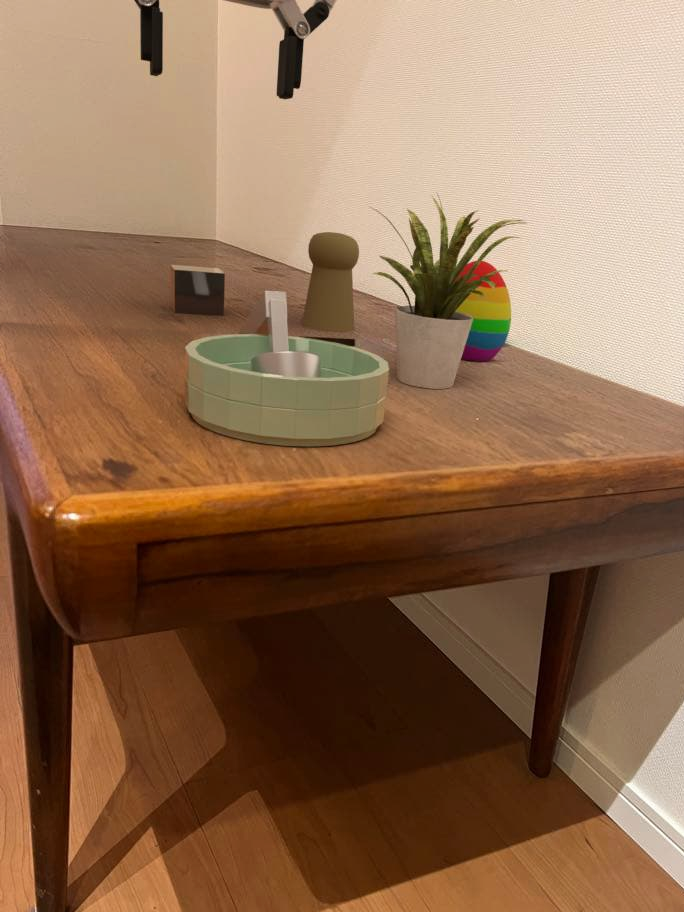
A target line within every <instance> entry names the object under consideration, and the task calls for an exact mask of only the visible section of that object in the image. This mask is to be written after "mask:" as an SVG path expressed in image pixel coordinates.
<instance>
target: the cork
mask: <svg viewBox="0 0 684 912" xmlns="http://www.w3.org/2000/svg"><path fill="white" fill-rule="evenodd" d="M307 253H308V257H309V260H310V262H311V263H312V268H311V273H310V279H309V284H308V289H307V293H306V294H307V295H306V299H305V305H304V310H303V315H302V320H301V326H303V327H304V328H307V329H310V330H315V331H321V332H330V333H350V332H354V331H355V314H354V313H355V310H354V285H353V281H354V280H353V270H354V268H355V266H356V265H357V264H358V261H359V257H360V248H359V244H358V242H357V240H356V239H355V238H354V237H352V236H349V235H347V234H344V233H341V232H334V231H333V232H332V231H325V232H323V231H322V232H317V233H315V234H313V235H312V236H311V238H310V239H309V243H308V251H307ZM298 337H302V338H310V339H317V340H323V341H329V342H335V343H339V344H343V345H347V346H351V347H356V339H355V338H343V337H323V336H322V337H321V336H301V335H300V336H298Z"/></svg>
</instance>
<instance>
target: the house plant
mask: <svg viewBox="0 0 684 912" xmlns="http://www.w3.org/2000/svg"><path fill="white" fill-rule="evenodd" d="M436 195H437V197H438V200H439V203H440V204H439V203H438V201H437V199H435V197H434V196H433V194H431V198H432V199H433V202H434V204H435V206H436V209H437V211H438V214H439V221H440V222H439V223H440V224H439V226H440V244H439V259H438V260H436V261H435V263H434V254H433V247H432V243H431V238H430V234H429V232H428V231H429V230H428V229H427V228H426V226H425V225H424V223H423V222H422V221H421V220H420V218H419V216H418V215H417V214H416V213H415V212H414V211H411V210H410V209H408V208H406V210H407V213H408V215H409V218H408V222H409V228H410V233H411V237H412V241H413V243H414V246H415V248H414V251H413V253H411V251H410V248H409V247H408V245H407V243H406V242H405V239H404V238H403V236H402V235H401V234H400V233H399V231H398V230H397V228H396V227H395V226H394V224H393V223H392V222H391V220H389V219H388V217H386V215H384V214H383V213H382V212H381V211H379V210H377V209H375V208H373V207H371V206H368V204H367V205H366V206H367V207H368V208H371V209H372V210H373V211H376V212H377V213H378V214H380V215H381V216H382V217H383V218H385V219H386V220H387V222H388V223H389V224H390V225H391V226H392V227H393V229H394V230H395V232H396V234H398V236H399V237H400V239H401V240H402V242H403V244H404V245H405V247H406V249H407V250H408V253H409V255H410V257H411V261H412V262H411V264H410V265H409V267H410V269H411V270H410V269H409V268H408V267H406V265H404V264H402V263H400V262H399V261H397V260H394V259H393V258H391V257H388V256H384V255H383V256H382V255H379V258H380V259H381V260H384V261H385V262H387V263H388V264H389V266H391V268H392V269H394V270H395V271H396V272H397V273H398V274H400V275H401V276H402V277H403V278H404V280H405V281H406V283H407V285H408V286H409V288H410V290H411V291H412V292H413V295H414V305H412V304H411V300H410V297H409V295H408V293H407V290H405V288H404V286H403V285H402V284H401V283H400V282H399V281H398V280H397V279H396V278H395V277H394V276H392V275H391V274H388V273H386V272H381V271H378V272H373V273H371V274H370V276H372V275H376V276H377V275H378V276H380V277H381V276H382V277H384V278H386V279H389V280H390V281H392V282H393V283H394V284H395V285H397V287H399V289H400V290H401V291H402V292H403V294H404V296H405V297H406V300H407V303H408V305H398V306H396V307H394V325H395V326H394V327H395V346H396V347H395V351H396V370H397V371H396V373H397V375H396V376H397V381H399V382H400V383H403V384H404V385H408V386H412V387H416V388H425V389H432V390H445V389H450V388H453V386H454V384H455V380H456V377H457V373H458V370H459V367H460V364H461V360H462V359H461V357H462V354H463V351H464V347H465V344H466V341H467V338H468V334H469V331H470V328H471V325H472V321H473V317H472V316H470V315H467V314H464V313H461V312H457V311H456V309H457V308H458V307H459V306H460V305H461V304H462V303H463V302H464V301H465V299H466V298H467V297H468V296H469V295H470V294H471V293H474V294H478V295H480V296H482V297H484V295H483V293H482V292H480V291H475V289H476V288H477V287H478V286H479V285H481V284H482V283H483V282H487V283H488V284H489V285H490V287H492V288H493V291H494V287H495V283H494V282H492V281H490V279H489V278H490V277H491V276H493V275H495V274H496V273H498V272H499V273H502V272H507V270H503V269H501V270H497V271H494V272H491V273H489V274H487V275H485V276H477V275H474V274H472V273H473V271H474V270H475V269H476V267H477V266H478V265H479V263H480V262H481V261H484V259H485V258H486V257H487V256H488V255H489V253H490V252H492V250H493V249H495V248H496V247H497V246H499V245H500V244H501V243H503V242H505V241H507V240H510V239H522V237H520V236H504V237H501V238H499V239H497V240H496V241H494V242H493V243H491V244H490V245H489V246H488V247H487V248H486V249H485V250H484V251H483V252H482V253H481V255H479V257H478V258H477V260H475V261H476V263H475V264H474V265H473V267H472V268H471V269H470V270H469V272H468V273H467V274H465V275H463V276H462V277H460V278H459V279H458V280H457V278H458V276H459V275H460V273H461V272H462V270H463V269H464V268H465V266H466V265H467V264H468V263H470V261H471V259H472V258H473V257H474V256H475V254H476V253H477V252H478V251H479V250H480V249H481V248H482V247H483V245H484V244H485V243H486V242H487V240H488V239H489V238H490V237H491V236H492V235H493V234H494V233H495V232H496V231H498V230H499V229H501V228H504V227H506V226H509V225H515V224H516V225H517V224H519V225H521V224H526V220H524V219H505V220H500V221H499V222H495V223H493V224H491V225H489V226H488V227H487V228H485V229H484V230H482V232H481V233H479V234H478V235H477V236H476V237H475V239H473V241H472V242H471V244H470V245H469V246H468V248H467V250H466V251H465V252H464V254H463V255H462V256H461V258H460V260H458V259H459V256H460V253H461V250H462V249H463V247H464V245H465V244H466V241H467V238H468V236H469V235H470V234H471V233H472V232H473V230H474V227H475V226H474V225H475V224H476V223H478V221H479V220H480V219H481V218H480V217H479V218H477V219H476V220H474V221H472V222H471V220H472V218H473V216H474V215H475V213H477V212H478V210H475V211H472V212H470V213H468V214H467V216H466V215H465V216H462V217H460V218H459V220H457V223H456V226H455V228H454V230H453V233H452V236H451V238H450V241H449V230H448V228H449V227H448V224H447V218H446V216H445V214H444V212H443V206H442V201H441V198H440V196H439V194H438V193H436ZM473 277H480V278H481V279H480V280H473V281H470V282H468V283H466V282H467V281H468V280H469V279H471V278H473ZM456 280H457V281H456ZM455 281H456V282H455ZM465 283H466V284H465ZM468 289H469V290H468ZM467 290H468V291H467ZM484 299H485V297H484ZM485 300H486V299H485Z"/></svg>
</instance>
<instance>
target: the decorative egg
mask: <svg viewBox="0 0 684 912" xmlns="http://www.w3.org/2000/svg"><path fill="white" fill-rule="evenodd" d="M476 261H477V260H474V261H471V262H470V261H469V262H468V263H467V265H466V266H465V268H464V269H463V270H462V272H461V273H460V275H459V276H458V278H457V280H458V279H459V278H460V277H462V276H463V275H465V274H467V273H468V272H469V270H470V269H471V268H472V267H473V265H474V264H475V263H476ZM494 271H498V269H497V268H496V267H495V266H494V265H493V264H491V263H489V262H487V261H485V260H482V261H481V262H480V263H479V265H478V266H477V267H476V269H475V270H474V271H473V273H472V274H474V275H477V276H485V275H487V274H489V273H491V272H494ZM480 279H481V278H480V277H473V278H471V279H469V280H468V281H467V282H466V283H468V282H470V281H473V280H480ZM489 279H490V281H492V282H494V283H495V287H494V291H493V288H492V287H490V285H489V284H488V283H487V282H483V283H482V284H481V285H479V286H478V287H477V288H476V289H475V291H480V292H482V293H483V295H484V297H485V299H486V300H485V299H484V297H482V296H480V295H478V294H474V293H471V294H470V295H469V296H468V297H467V298H466V299H465V301H464V302H463V303H462V304H461V305H460V306H459V307H458V308H457V309H456V311H457V312H461V313H464V314H467V315H470V316H472V317H473V321H472V325H471V328H470V331H469V334H468V338H467V341H466V344H465V347H464V351H463V354H462V357H461V360H465V361H473V362H487V361H491V360H492V359H494V358H495V357H496V356H497V355H498V354H499V352H501V350H502V348H503V347H504V345H505V343H506V342H507V339H508V336H509V334H510V329H511V324H512V323H511V322H512V304H511V297H510V293H509V290H508V286H507V284H506V282H505V280H504V278H503V276H502V275H501V272H498V273H496V274H495V275H493V276H491V277H490V278H489ZM457 280H456V281H457ZM456 281H455V282H456ZM466 283H465V284H466ZM468 290H469V289H468ZM468 290H467V291H468Z"/></svg>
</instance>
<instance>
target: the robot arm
mask: <svg viewBox="0 0 684 912" xmlns="http://www.w3.org/2000/svg"><path fill="white" fill-rule="evenodd" d="M133 1H134V2H135V5H136V7H137V8H138V9H139V11H140V13H139V19H140V20H139V21H140V23H139V24H140V29H139V30H140V34H139V37H140V43H139V44H140V60H141V61H144V62H149V75H150V76H151V77H158V76H161V75H162V74H163V67H164V60H163V59H164V56H163V55H164V53H163V52H164V49H163V48H164V34H163V33H164V12H163V11H161V8H160V0H133ZM223 1H224V2H229V3H234V4H239V5H242V6H247V7H252V8H258V9H264V10H272V13H273V14H274V16H275V18H276V19H277V21H278V23H279V24H280V27H281V28H282V30H283V39H281V40H280V41H279V43H278V44H279V45H278V62H277V77H276V79H277V80H276V97H278V99H280V100H290V99H293V97H294V92H295V91H294V90H295V89H296V90H299V89H300V88H301V84H302V73H303V58H304V57H303V56H304V42H305V39H307V38H308V37H309V36H310V35H311V34H312V33H313V32H314V31H315V30H316V29H318V28H319V26H321V24H322V23H324V22H325V21H326V20H327V19H328V18H329V15H330V13H331V11H332V10H333V8H334V7H335V4H336V3H337V1H338V0H314V1H313V3H312V5H311V6H310V7H309V8H308V9H306V10H305V12H304V13H303V11H302V10H301V8H300V6H299V4H298V2H297V1H296V0H223Z"/></svg>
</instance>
